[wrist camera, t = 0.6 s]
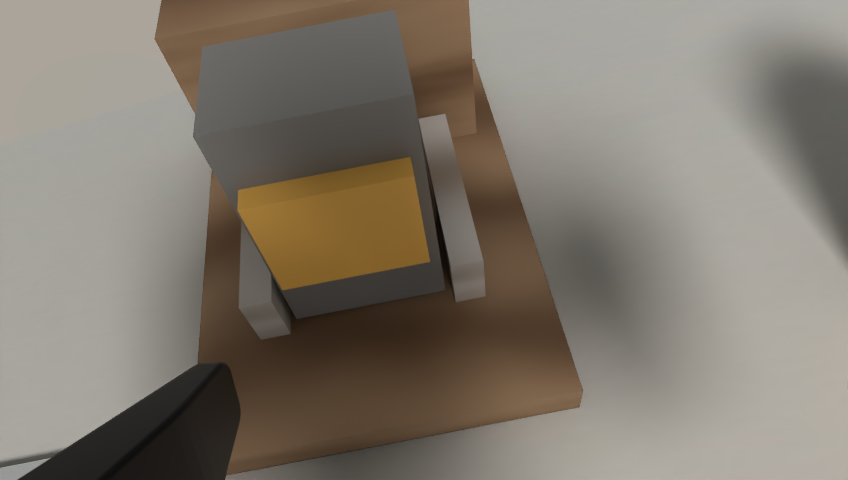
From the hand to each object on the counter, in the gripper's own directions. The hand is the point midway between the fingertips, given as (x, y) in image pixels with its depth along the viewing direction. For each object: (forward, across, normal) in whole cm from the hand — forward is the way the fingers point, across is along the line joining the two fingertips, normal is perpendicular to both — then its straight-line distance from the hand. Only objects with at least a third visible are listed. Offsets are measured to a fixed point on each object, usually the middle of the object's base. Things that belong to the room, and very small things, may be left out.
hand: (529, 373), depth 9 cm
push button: (+15, +5, +6) cm, 17 cm away
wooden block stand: (+18, +6, +6) cm, 20 cm away
